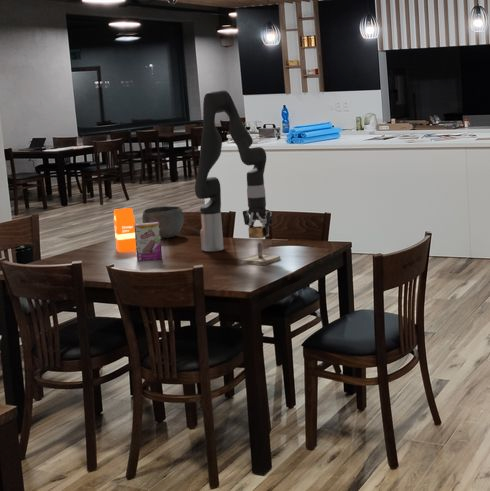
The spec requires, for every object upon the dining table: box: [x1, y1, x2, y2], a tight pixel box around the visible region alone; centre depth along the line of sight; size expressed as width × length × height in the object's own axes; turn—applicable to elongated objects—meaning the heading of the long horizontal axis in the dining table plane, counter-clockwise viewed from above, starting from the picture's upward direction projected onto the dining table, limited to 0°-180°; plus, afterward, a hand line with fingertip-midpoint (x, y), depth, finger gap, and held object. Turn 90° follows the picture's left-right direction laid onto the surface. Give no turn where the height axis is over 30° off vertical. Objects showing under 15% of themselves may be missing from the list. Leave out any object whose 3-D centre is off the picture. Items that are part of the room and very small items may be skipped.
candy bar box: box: [134, 222, 163, 262], centre depth 381 cm, size 11×5×16 cm, turn 100°
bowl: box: [141, 205, 185, 240], centre depth 434 cm, size 21×21×15 cm
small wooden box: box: [248, 225, 270, 239], centre depth 361 cm, size 6×6×4 cm
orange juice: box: [113, 207, 136, 253], centre depth 407 cm, size 8×9×20 cm
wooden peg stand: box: [240, 242, 281, 266], centre depth 362 cm, size 12×12×8 cm
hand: (258, 235), depth 361 cm, fingers closed on small wooden box, 6 cm apart
